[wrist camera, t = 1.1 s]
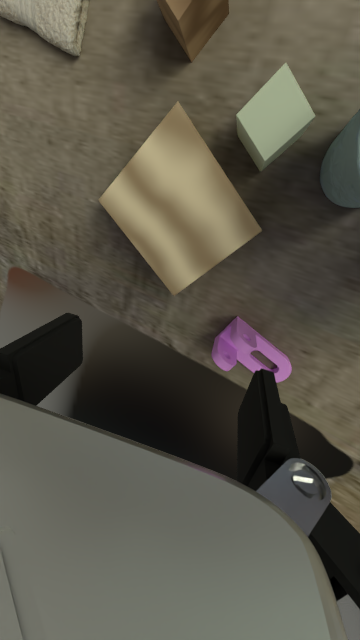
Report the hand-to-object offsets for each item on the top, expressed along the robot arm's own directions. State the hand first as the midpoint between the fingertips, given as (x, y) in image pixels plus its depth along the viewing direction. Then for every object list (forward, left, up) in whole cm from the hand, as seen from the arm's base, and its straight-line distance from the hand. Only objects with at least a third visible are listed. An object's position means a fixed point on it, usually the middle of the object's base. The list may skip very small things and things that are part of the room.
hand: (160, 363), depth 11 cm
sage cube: (-14, -9, -25) cm, 30 cm away
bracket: (+3, +15, -25) cm, 30 cm away
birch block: (-1, -9, -26) cm, 27 cm away
